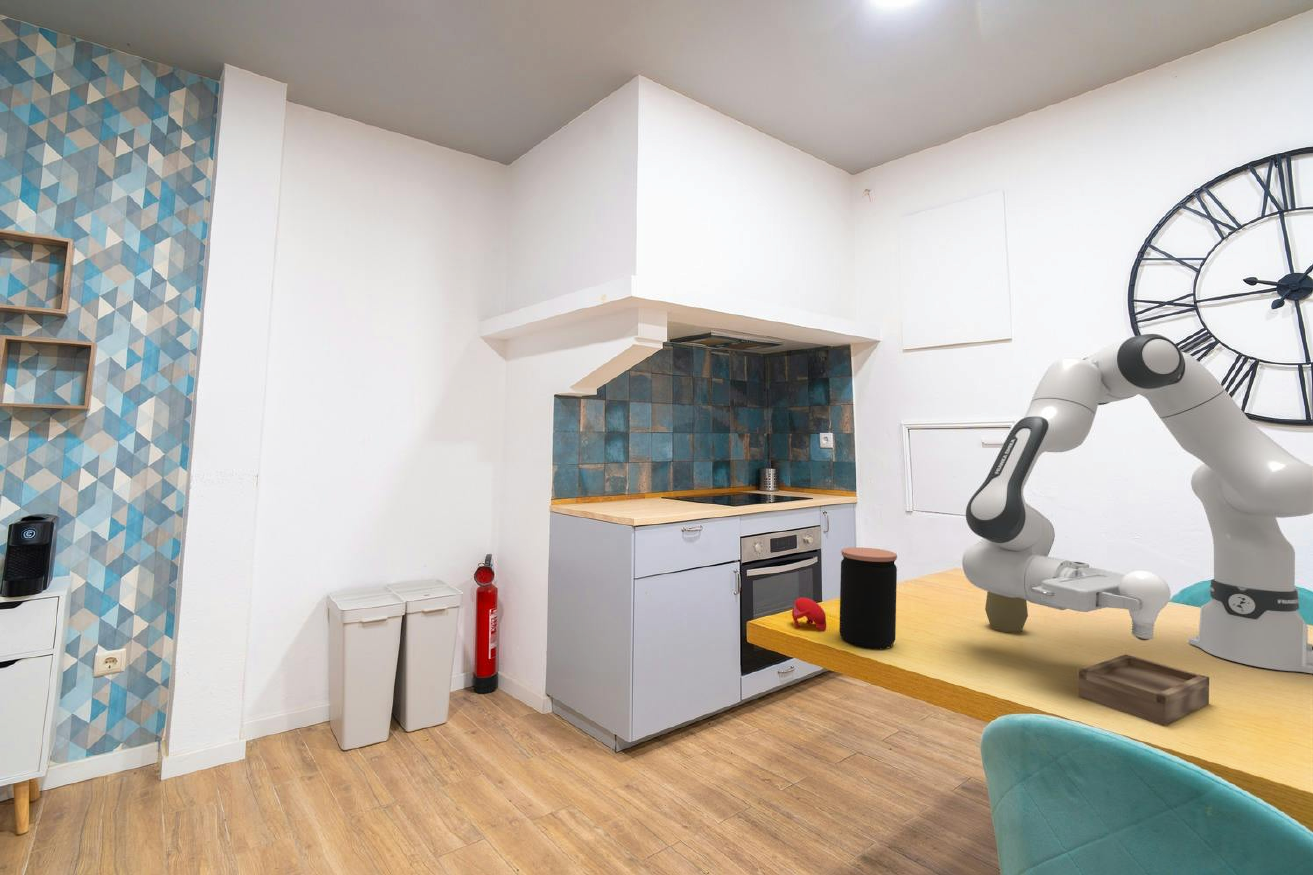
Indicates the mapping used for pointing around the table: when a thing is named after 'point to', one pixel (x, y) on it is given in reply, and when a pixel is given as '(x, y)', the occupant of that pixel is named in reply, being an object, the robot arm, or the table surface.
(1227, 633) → the robot arm
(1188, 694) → the walnut tray
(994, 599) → the squeeze bottle
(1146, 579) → the lightbulb
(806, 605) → the red animal figurine
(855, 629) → the coffee jar
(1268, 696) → the table surface
